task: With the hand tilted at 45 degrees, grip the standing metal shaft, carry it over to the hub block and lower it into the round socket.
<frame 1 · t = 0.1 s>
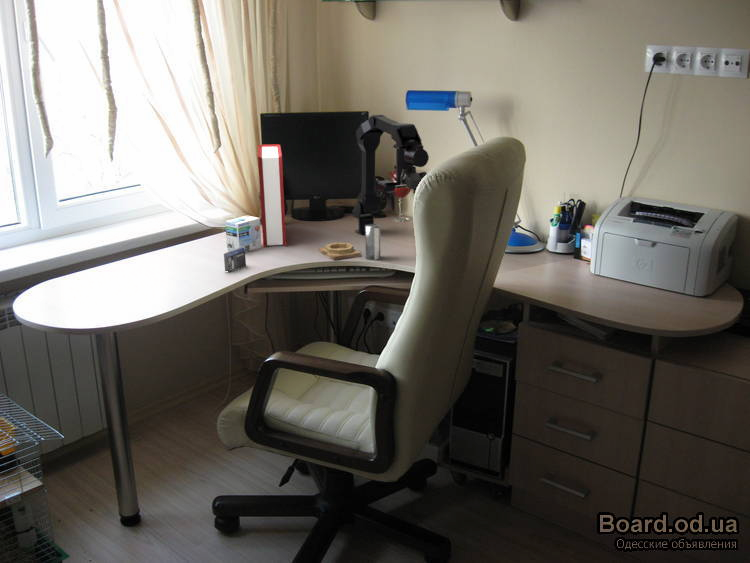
hand: (404, 209, 249), 15 cm above the table, tool pointing down, fingers open, 9 cm apart
mini dv tape: (235, 269, 236), on the table
book: (274, 237, 272), on the table
light bulb box: (244, 249, 257), on the table
hub: (339, 253, 251), on the table
shaft: (373, 257, 246), on the table
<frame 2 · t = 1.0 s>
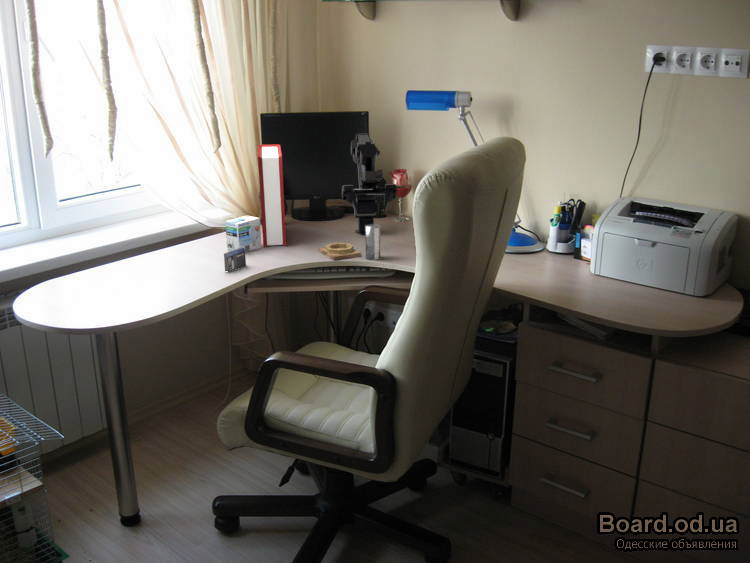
hand: (371, 213, 249), 13 cm above the table, tool tilted 45°, fingers open, 9 cm apart
nothing on the table moved.
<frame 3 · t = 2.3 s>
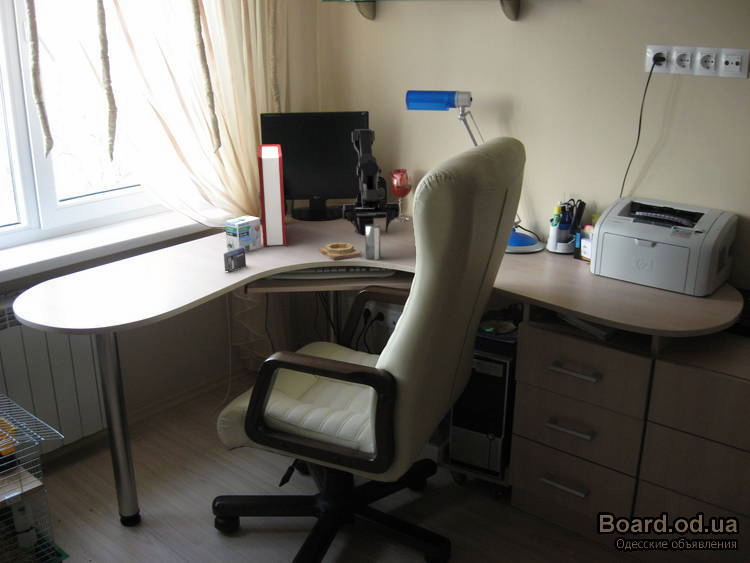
hand: (372, 232, 244), 8 cm above the table, tool tilted 45°, fingers open, 9 cm apart
nothing on the table moved.
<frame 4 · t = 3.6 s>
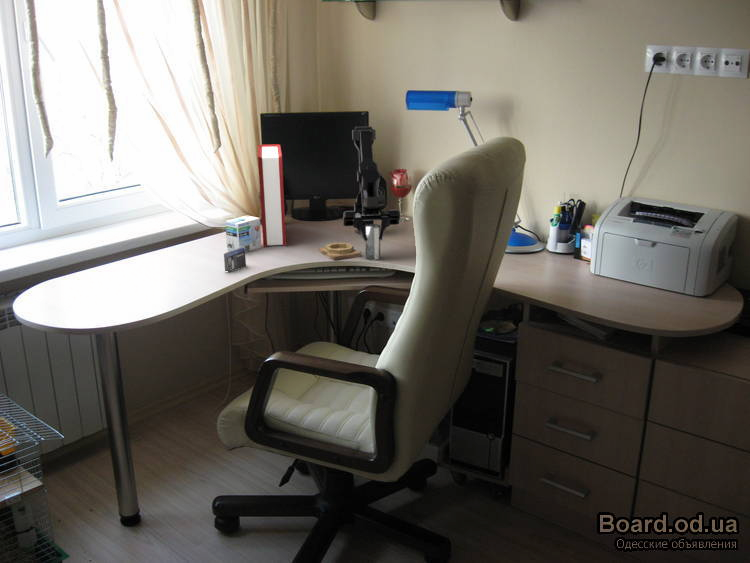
hand: (373, 239, 242), 7 cm above the table, tool tilted 45°, fingers closed on shaft, 5 cm apart
shaft: (372, 257, 246), on the table, touching gripper
everything else where it was.
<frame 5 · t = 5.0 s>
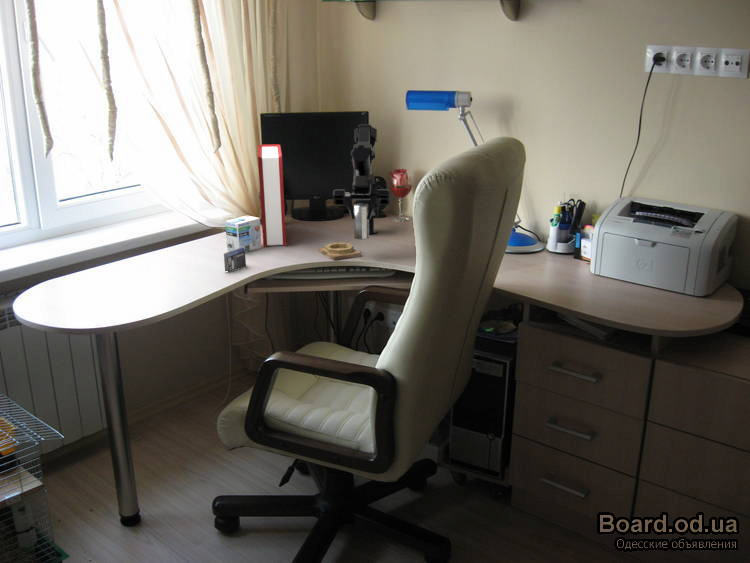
hand: (361, 219, 241), 13 cm above the table, tool tilted 45°, fingers closed on shaft, 5 cm apart
shaft: (361, 237, 245), point 7 cm above the table, touching gripper
everything else where it was.
when the fingers open (9 cm above the table, at t = 6.9 s): shaft stays where it is, resting on hub.
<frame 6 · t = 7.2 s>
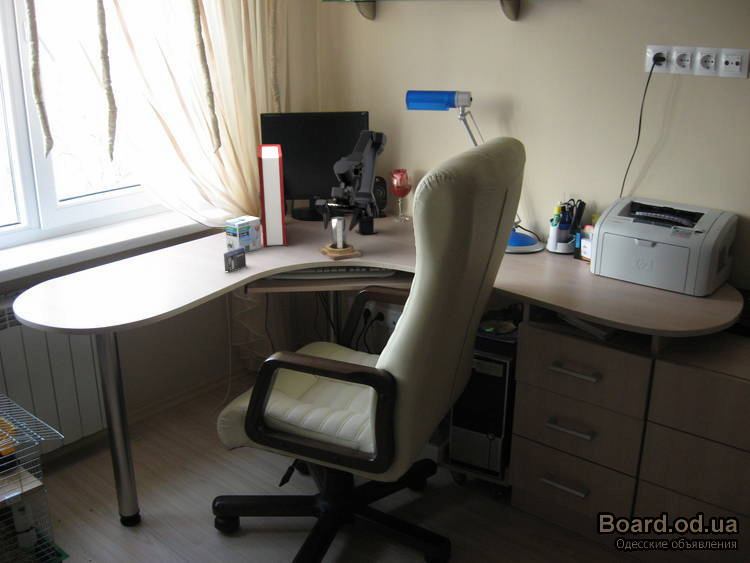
hand: (337, 229, 247), 9 cm above the table, tool tilted 45°, fingers open, 8 cm apart
shaft: (339, 250, 250), point 1 cm above the table, touching hub
everything else where it was.
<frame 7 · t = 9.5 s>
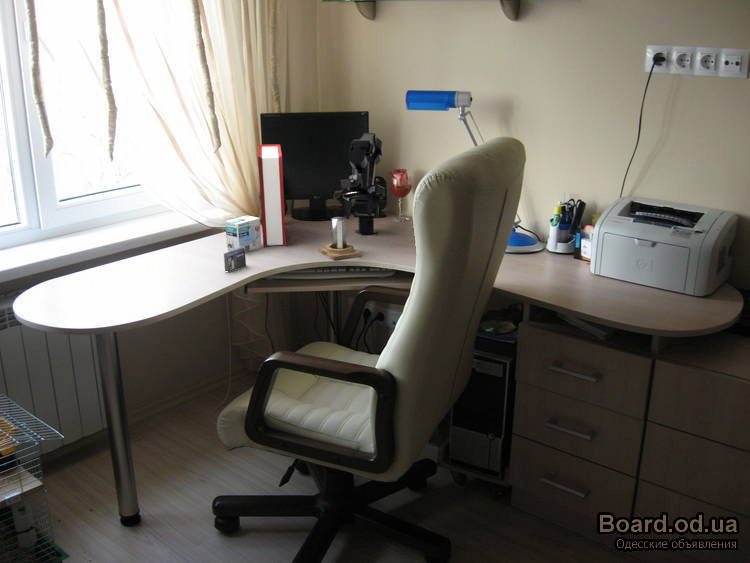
hand: (358, 217, 256), 10 cm above the table, tool tilted 30°, fingers open, 9 cm apart
nothing on the table moved.
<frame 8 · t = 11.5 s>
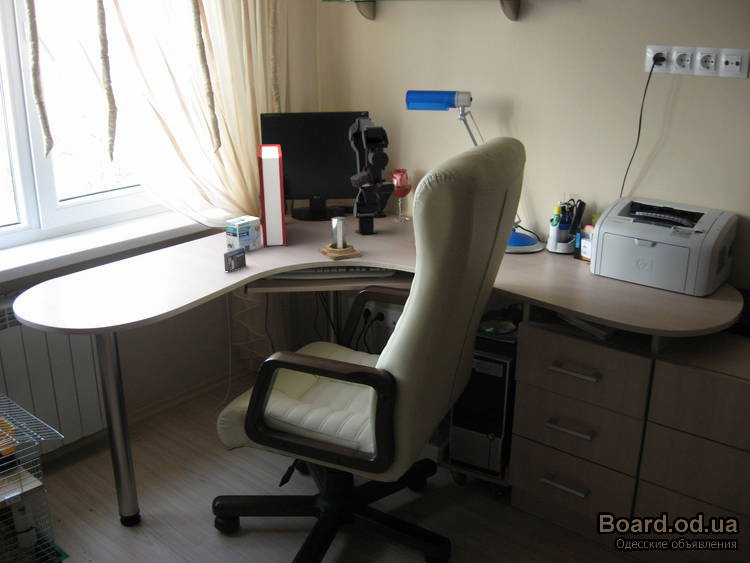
hand: (374, 208, 257), 13 cm above the table, tool pointing down, fingers open, 9 cm apart
nothing on the table moved.
at the end: shaft 0.1 cm off-centre on the hub, point 1.2 cm above the hub's base; shaft tilted 0°; the gripper is holding nothing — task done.
